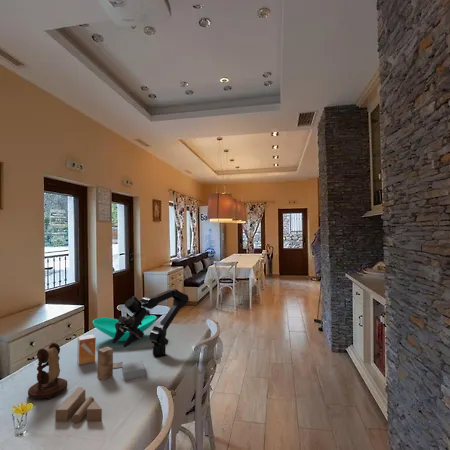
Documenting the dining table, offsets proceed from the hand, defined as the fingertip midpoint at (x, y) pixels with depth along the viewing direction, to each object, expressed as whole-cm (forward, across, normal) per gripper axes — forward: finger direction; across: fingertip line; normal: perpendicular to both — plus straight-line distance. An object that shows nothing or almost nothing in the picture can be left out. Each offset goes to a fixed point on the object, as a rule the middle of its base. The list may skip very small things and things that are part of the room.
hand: (118, 345), depth 150 cm
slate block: (+7, +8, +12) cm, 16 cm away
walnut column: (+14, 0, +4) cm, 15 cm away
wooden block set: (+28, +19, -8) cm, 35 cm away
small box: (+12, -24, +6) cm, 27 cm away
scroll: (+31, -6, -12) cm, 33 cm away
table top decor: (-11, -37, +29) cm, 48 cm away
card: (+8, -6, +11) cm, 15 cm away
